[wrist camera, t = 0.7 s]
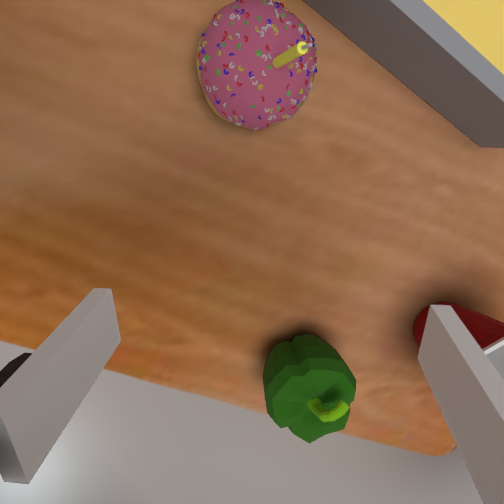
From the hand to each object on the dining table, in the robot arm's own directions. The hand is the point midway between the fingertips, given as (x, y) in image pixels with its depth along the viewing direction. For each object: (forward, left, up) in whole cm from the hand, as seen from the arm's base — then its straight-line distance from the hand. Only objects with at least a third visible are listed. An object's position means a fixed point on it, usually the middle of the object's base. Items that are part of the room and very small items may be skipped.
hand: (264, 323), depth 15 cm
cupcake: (-6, +11, -20) cm, 23 cm away
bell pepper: (+13, -9, -20) cm, 26 cm away
